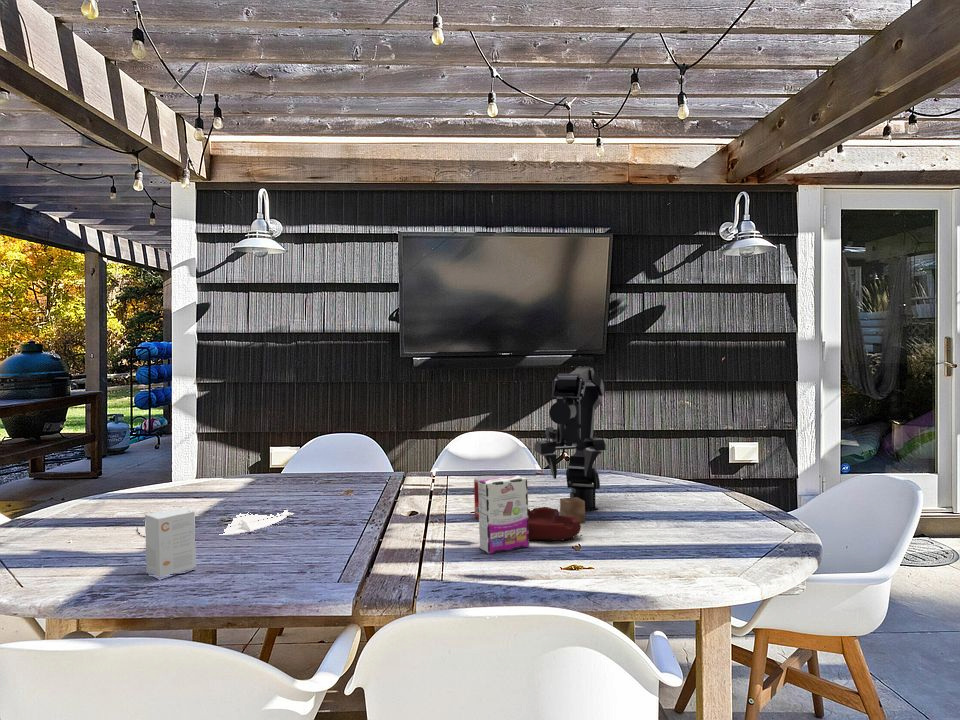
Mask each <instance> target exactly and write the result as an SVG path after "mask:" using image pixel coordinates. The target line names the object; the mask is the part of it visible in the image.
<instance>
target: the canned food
mask: <svg viewBox="0 0 960 720" xmlns="http://www.w3.org/2000/svg"><path fill="white" fill-rule="evenodd" d="M494 478H501V476H498V475H497V476H496V475H481V476H476V477H474V479H473V484H474V485H473V487H474V489H473V490H474V492H473V494H474V496H473V497H474V517H475V519H478V520H479V499H478V481H479V480H486V479H494Z"/></svg>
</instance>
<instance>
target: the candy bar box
mask: <svg viewBox="0 0 960 720" xmlns="http://www.w3.org/2000/svg"><path fill="white" fill-rule="evenodd" d="M500 477H501V476H500ZM528 495H529V494H528V478H527V477H525V476H520V475H512V476H511V475H510V476H502V477H501V478H494V479H486V480H479V481H478V499H479V519H478V522H479V523H478V525H479V526H478V527H479V529H478V530H479V548H480V550H481V551H483V552H485V553H487V554H488V555H489V554H491V555H492V554H495V553H501V552H506V551H512V550H518V549H522V548H528V547H530V540H529V525H528V509H529V496H528Z"/></svg>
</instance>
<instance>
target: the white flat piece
mask: <svg viewBox="0 0 960 720" xmlns="http://www.w3.org/2000/svg"><path fill="white" fill-rule="evenodd" d="M288 511H289V509H287V510H284V512H283V513H281V514H279V513H277V515H276V516H278V517H276V516H274V515H272V514H270V516H267V515H258V514H255V515H253V514H251V513H250V514H251V515H249V514H248V513H249V512H248V513H247V514H241V513H240V514H239V515H236V517H237V518H233V521H232V523H231V524H228V526H227V528H226V529H224V532H225V533H223V534H219V535H234V534H240V533H245V532H249V531H250V532H251V531H254V530H257V529H260V528H264V527H267V526H270V525H272V524H275V523H277V522H279V521H281V520H283V519H284V518H286V517H287V516H289V515H293V514H294V515H295V513H294V512H288ZM245 515H246V516H245ZM280 515H281V516H280ZM294 515H293V516H294ZM240 516H242V517H240ZM271 517H273V518H271ZM267 518H268V519H267ZM263 519H264V520H263ZM258 520H259V521H258ZM230 526H231V527H230Z"/></svg>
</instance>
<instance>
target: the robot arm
mask: <svg viewBox="0 0 960 720" xmlns="http://www.w3.org/2000/svg"><path fill="white" fill-rule="evenodd" d="M604 395H605V385H604V382H603V379H602V377H601V376H599V374H597V373H596V372H595V371H594V367H591V366H578V367H576V368H575V370H573V371H571V372H570V373H558V374H557V375H556V377H555V378H554V380H553V387H552V392H551V395H550V396H551V397H550V399H551V400H555V401H556V402H554V403H552V405H551V406H550V408H549V410H548V413H549V415H548V416H549V418H550V420H551V421H552V422H553V423H555V424H556V426H557V427H556V429H555V428H554V427H551V426H550V427H546V428H545V438H546V440H536V441H535V443H534V449H533V450H534V452H536V453H538V454H539V455H540V456H543V457H544V458H545V460H546V462H547V464H548V466H549V469H550V473H551V476H552V478H553V479H554V480H556V479H557V476H558V475H557V473H558V470H557V468H558V467H557V465H558V462H557V461H558V459H557V456H558V455H557V454H556V453H555V452H556V450H557V451H559V450H563V451H564V450H575V453H574V454H572V455H570V456H569V458H568V459H569V460H568V467H566V471H565V477H566V487H567V489H571V490H570V491H571V492H569V498H573V497H578V498H580V499H582V500H584V501H585V512H586V511H587V512H589V511H597V510H599V507H597V506H596V502H597V501H596V490H599V489H601V481H600V475H599V473H598V470H597V468H596V467H597V465H596V463H595V461H596V460H597V458H598V456H599V454H602V451H607V443H606V441H605V440H604V439H602V438H599V437H594V429H595V427H594V426H595V419H596V418H595V417H596V416H595V415H596V410H597V408H599V406H601V404H602V400H603V396H604Z"/></svg>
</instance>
